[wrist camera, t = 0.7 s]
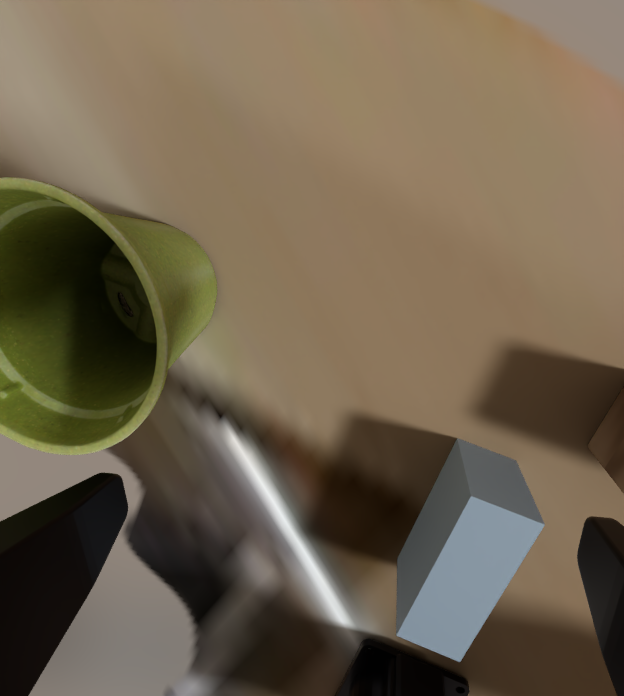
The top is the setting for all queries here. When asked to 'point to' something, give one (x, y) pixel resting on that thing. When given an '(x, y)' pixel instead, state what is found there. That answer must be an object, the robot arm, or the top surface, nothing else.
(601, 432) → the rail
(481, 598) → the light blue block
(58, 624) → the robot arm
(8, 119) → the top surface
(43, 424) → the plant pot
